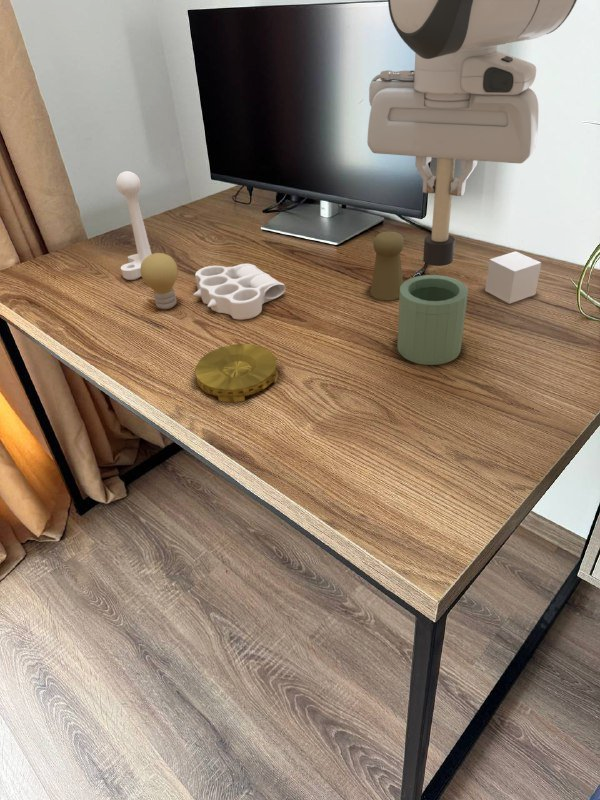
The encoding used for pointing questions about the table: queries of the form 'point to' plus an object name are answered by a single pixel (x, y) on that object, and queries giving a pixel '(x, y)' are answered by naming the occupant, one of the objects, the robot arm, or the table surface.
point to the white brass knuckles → (237, 289)
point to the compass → (236, 371)
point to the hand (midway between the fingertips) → (443, 193)
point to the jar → (431, 319)
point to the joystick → (134, 224)
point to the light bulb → (160, 278)
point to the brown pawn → (387, 266)
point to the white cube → (512, 277)
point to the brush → (441, 217)
